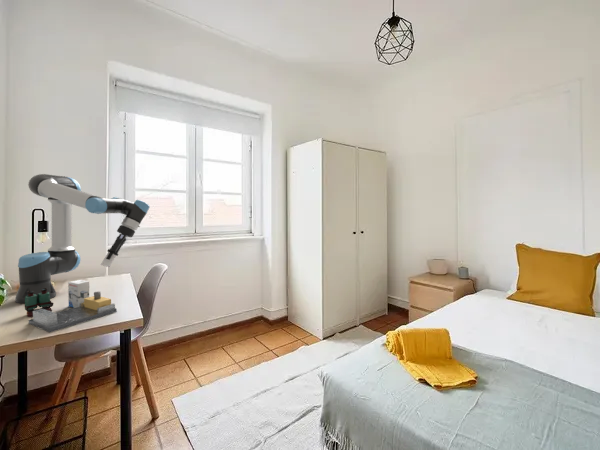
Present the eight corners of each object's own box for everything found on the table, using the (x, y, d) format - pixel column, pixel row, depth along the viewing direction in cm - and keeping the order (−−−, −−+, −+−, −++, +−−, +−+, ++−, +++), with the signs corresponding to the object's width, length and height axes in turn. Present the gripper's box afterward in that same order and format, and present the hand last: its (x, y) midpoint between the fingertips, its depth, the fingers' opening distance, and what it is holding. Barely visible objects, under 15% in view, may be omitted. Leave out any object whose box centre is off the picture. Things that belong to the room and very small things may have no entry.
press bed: (28, 323, 110) (27, 310, 109) (94, 305, 131) (94, 294, 130) (49, 332, 101) (48, 317, 101) (116, 311, 122) (116, 299, 122)
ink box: (68, 306, 130) (67, 282, 129) (80, 303, 134) (79, 279, 134) (78, 309, 126) (77, 283, 126) (90, 305, 131) (89, 281, 130)
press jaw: (84, 306, 124) (83, 291, 124) (96, 303, 129) (96, 289, 128) (99, 311, 119) (98, 295, 118) (111, 307, 123) (110, 292, 123)
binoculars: (27, 296, 113) (22, 290, 119) (28, 321, 114) (23, 313, 120) (55, 291, 120) (49, 285, 126) (56, 314, 122) (50, 307, 127)
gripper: (135, 228, 133) (111, 268, 126) (135, 233, 155) (114, 268, 147) (119, 221, 130) (93, 262, 123) (121, 227, 152) (99, 263, 144)
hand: (105, 266), depth 135 cm, fingers open, 13 cm apart
